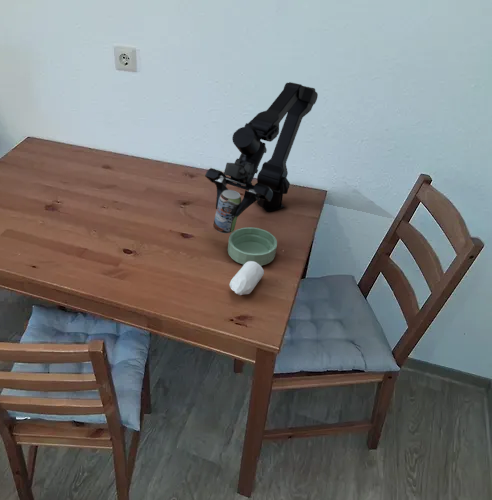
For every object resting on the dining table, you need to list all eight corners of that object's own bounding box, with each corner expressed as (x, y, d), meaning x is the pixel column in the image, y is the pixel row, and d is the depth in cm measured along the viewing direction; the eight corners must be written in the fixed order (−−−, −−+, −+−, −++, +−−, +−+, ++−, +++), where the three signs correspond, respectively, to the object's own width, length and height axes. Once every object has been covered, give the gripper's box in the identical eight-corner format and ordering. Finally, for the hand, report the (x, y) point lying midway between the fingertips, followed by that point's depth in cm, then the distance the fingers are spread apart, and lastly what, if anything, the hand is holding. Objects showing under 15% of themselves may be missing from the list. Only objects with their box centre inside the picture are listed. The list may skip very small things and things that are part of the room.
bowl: (259, 235, 162) (260, 223, 159) (284, 261, 152) (286, 248, 149) (219, 245, 158) (220, 233, 156) (242, 272, 148) (243, 259, 145)
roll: (223, 298, 140) (224, 282, 136) (242, 273, 148) (244, 257, 144) (244, 306, 137) (246, 290, 134) (263, 281, 145) (265, 264, 142)
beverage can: (209, 226, 155) (210, 190, 148) (233, 221, 156) (235, 185, 149) (218, 238, 150) (220, 201, 143) (242, 232, 152) (245, 196, 144)
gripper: (210, 141, 146) (186, 194, 146) (273, 159, 137) (249, 216, 136) (222, 156, 155) (201, 205, 155) (283, 174, 146) (260, 226, 146)
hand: (226, 212), depth 148 cm, fingers closed on beverage can, 6 cm apart
